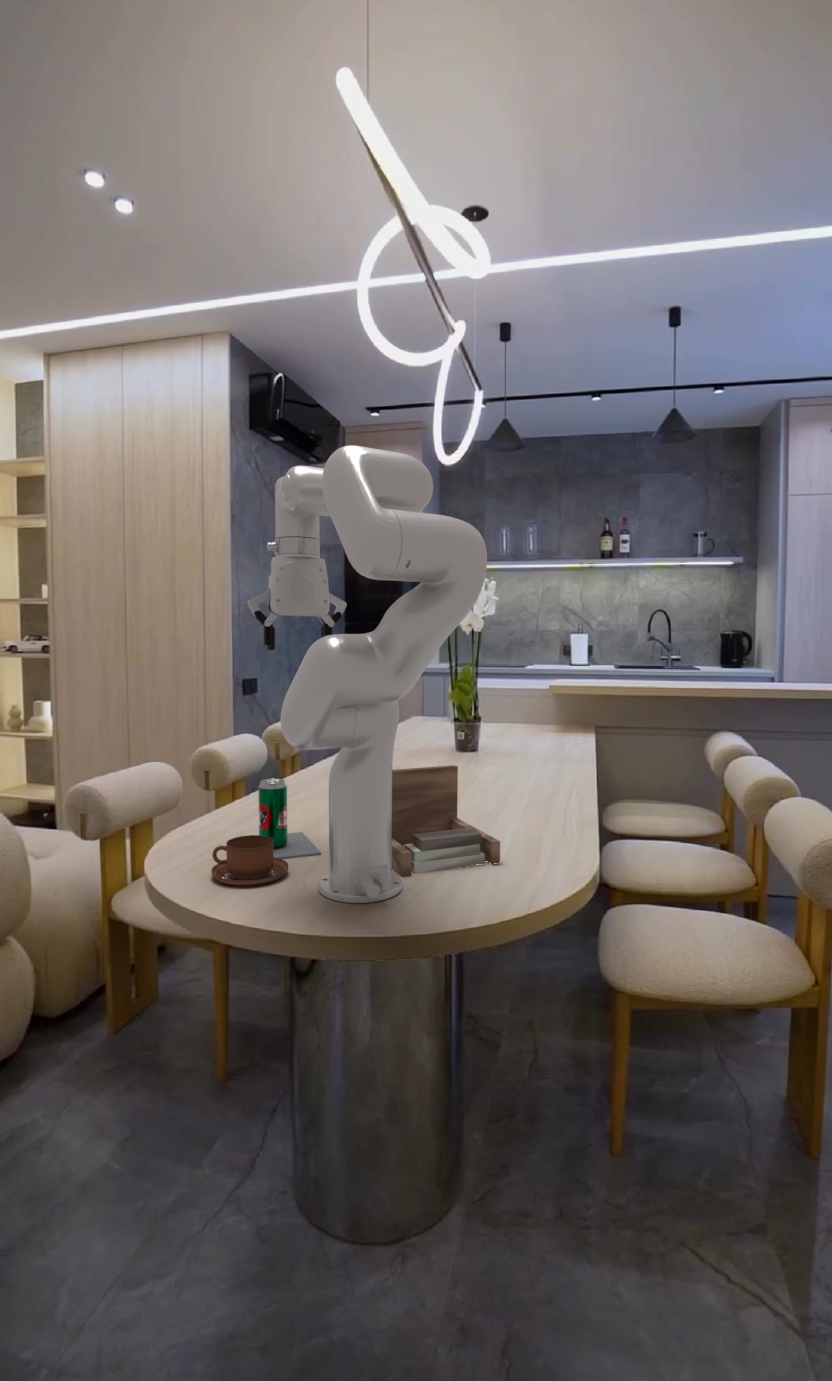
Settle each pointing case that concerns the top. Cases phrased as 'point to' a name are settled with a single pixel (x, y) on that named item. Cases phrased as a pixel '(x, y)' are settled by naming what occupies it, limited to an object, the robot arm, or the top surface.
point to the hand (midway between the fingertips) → (298, 649)
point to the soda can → (273, 811)
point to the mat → (296, 847)
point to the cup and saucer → (248, 861)
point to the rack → (433, 824)
